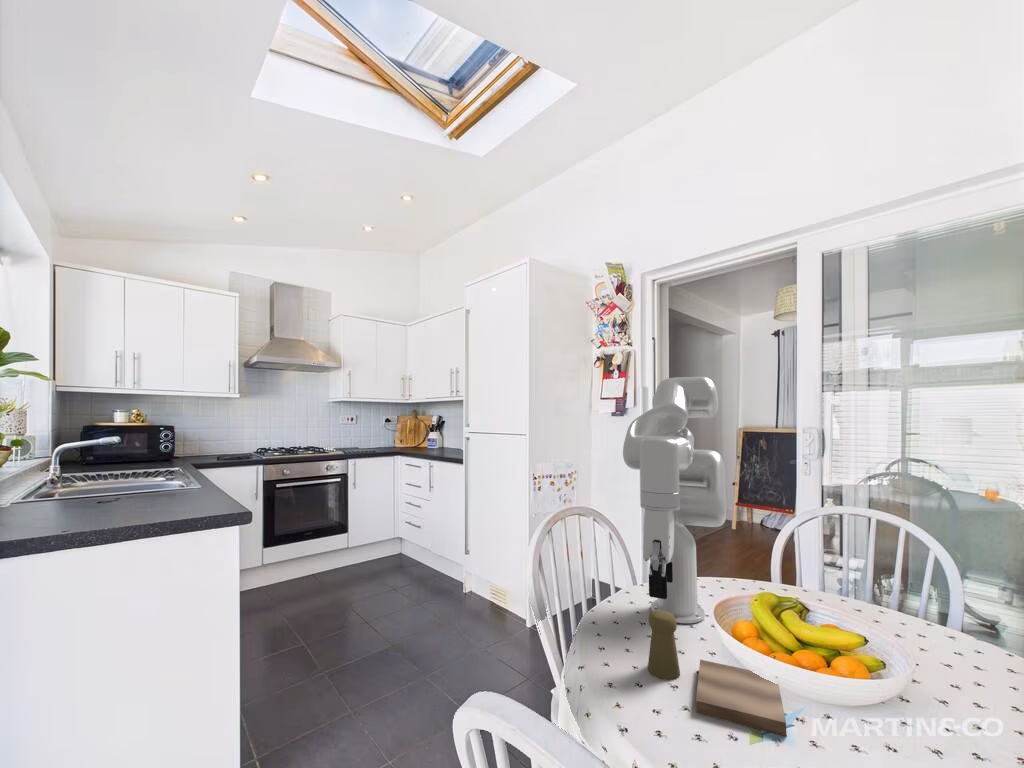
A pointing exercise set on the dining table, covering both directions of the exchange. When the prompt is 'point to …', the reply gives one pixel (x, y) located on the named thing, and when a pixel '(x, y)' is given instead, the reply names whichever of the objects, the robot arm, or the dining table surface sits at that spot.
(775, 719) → the walnut board
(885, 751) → the dining table surface
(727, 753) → the dining table surface
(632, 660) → the dining table surface
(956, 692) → the dining table surface
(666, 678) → the olive pawn
